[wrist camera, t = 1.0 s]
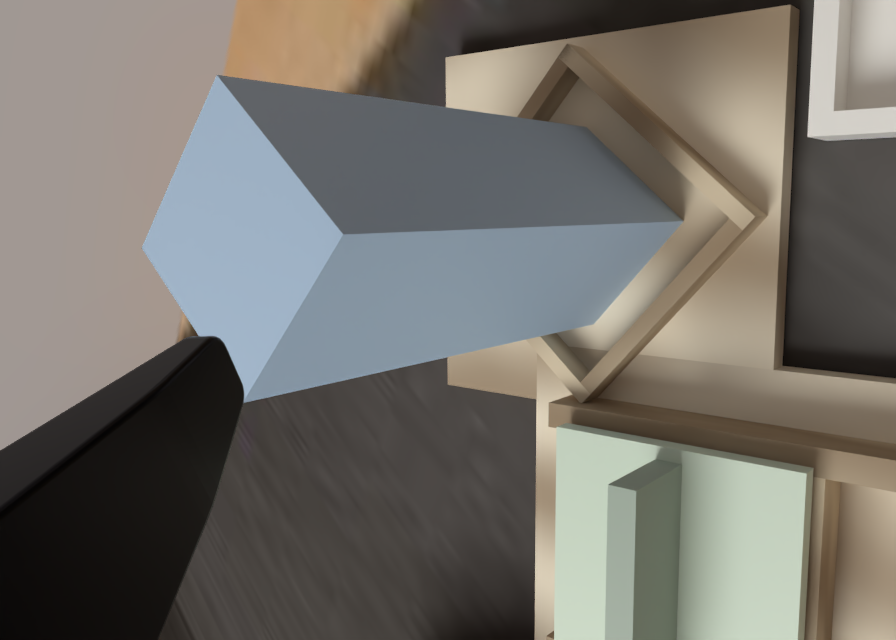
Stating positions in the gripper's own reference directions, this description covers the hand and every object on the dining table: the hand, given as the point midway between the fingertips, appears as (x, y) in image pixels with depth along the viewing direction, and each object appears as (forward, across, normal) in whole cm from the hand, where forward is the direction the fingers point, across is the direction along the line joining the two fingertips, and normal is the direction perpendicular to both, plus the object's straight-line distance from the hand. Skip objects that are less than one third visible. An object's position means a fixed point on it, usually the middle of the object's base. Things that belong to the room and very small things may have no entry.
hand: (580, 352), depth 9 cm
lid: (+9, 0, +15) cm, 17 cm away
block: (+16, +2, +8) cm, 18 cm away
